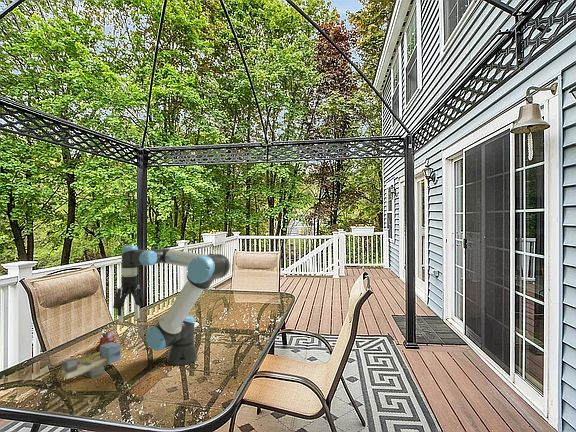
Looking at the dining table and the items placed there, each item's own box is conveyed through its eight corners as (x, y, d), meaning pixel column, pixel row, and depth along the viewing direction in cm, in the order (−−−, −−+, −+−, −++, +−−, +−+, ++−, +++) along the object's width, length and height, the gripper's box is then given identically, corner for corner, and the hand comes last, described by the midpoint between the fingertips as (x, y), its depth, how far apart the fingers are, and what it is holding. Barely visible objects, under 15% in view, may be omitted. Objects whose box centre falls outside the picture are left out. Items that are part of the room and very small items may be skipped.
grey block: (120, 359, 173) (120, 344, 174) (108, 364, 168) (108, 348, 168) (111, 356, 177) (111, 342, 177) (99, 360, 172) (99, 345, 172)
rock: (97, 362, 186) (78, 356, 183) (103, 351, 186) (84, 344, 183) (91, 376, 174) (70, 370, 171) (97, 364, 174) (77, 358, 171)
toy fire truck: (93, 354, 191) (93, 335, 191) (108, 346, 203) (108, 328, 203) (104, 355, 190) (105, 335, 190) (119, 347, 202) (119, 329, 202)
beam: (123, 366, 175) (123, 345, 175) (68, 386, 153) (69, 363, 153) (115, 363, 179) (115, 343, 179) (60, 383, 157) (60, 360, 157)
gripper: (142, 272, 193) (142, 314, 193) (105, 277, 175) (104, 323, 175) (151, 273, 189) (151, 316, 189) (114, 279, 171) (113, 325, 171)
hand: (128, 319), depth 182 cm, fingers open, 9 cm apart
